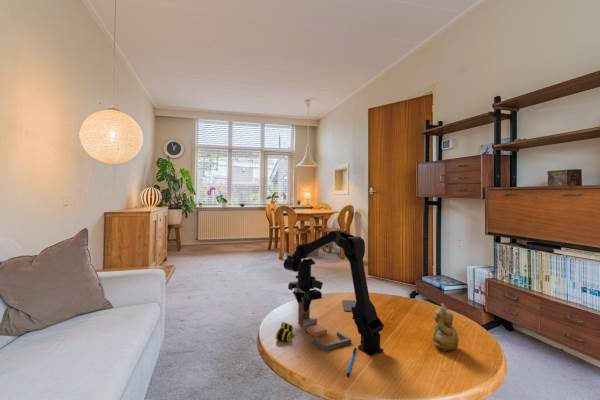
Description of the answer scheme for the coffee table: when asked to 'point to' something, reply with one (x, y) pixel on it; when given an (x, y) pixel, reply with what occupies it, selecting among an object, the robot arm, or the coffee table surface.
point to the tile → (316, 330)
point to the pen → (351, 362)
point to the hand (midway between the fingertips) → (304, 310)
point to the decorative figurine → (444, 330)
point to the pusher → (305, 317)
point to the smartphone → (348, 305)
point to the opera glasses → (284, 332)
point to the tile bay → (324, 347)
